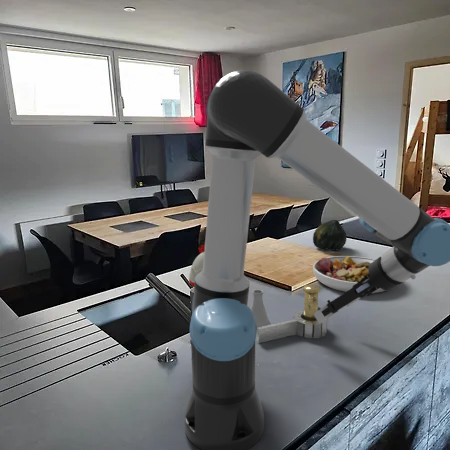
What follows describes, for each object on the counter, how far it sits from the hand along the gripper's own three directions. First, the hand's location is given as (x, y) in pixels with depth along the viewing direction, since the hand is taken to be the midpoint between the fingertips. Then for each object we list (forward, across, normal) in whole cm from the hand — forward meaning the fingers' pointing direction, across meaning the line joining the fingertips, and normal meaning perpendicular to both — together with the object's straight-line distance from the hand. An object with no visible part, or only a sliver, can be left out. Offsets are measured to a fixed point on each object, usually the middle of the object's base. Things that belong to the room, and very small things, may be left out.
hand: (331, 309), depth 105 cm
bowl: (+18, +43, +6) cm, 47 cm away
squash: (+38, +72, +26) cm, 86 cm away
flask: (+20, -7, +8) cm, 22 cm away
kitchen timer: (+44, +4, +33) cm, 55 cm away
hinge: (+14, 0, +2) cm, 14 cm away
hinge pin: (+10, 0, -1) cm, 10 cm away
